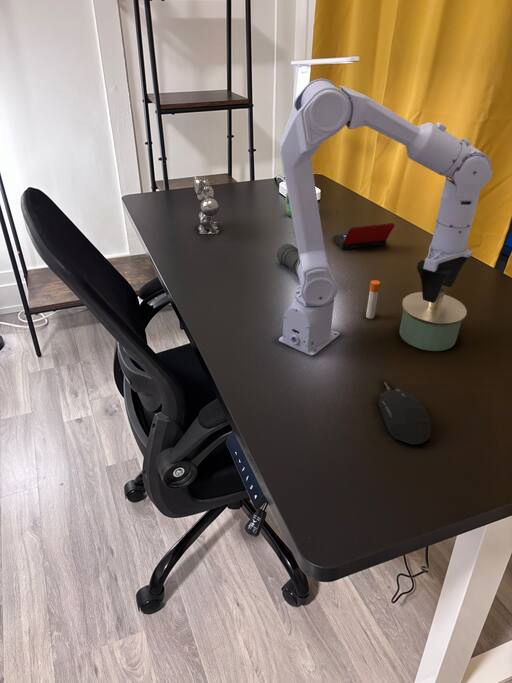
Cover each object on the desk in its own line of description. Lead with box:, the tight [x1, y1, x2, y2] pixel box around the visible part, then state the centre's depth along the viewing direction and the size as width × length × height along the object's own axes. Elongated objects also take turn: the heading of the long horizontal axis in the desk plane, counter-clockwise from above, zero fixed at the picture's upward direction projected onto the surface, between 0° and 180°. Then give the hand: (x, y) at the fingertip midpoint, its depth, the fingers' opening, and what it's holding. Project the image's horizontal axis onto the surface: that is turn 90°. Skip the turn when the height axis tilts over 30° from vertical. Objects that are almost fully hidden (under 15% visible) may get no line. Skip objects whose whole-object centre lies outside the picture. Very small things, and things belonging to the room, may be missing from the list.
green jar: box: [284, 192, 292, 218], centre depth 149 cm, size 5×5×8 cm
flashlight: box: [276, 243, 299, 277], centre depth 118 cm, size 15×5×5 cm, turn 25°
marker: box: [365, 279, 381, 320], centre depth 101 cm, size 2×2×8 cm
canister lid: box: [401, 288, 468, 325], centre depth 94 cm, size 12×12×4 cm
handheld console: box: [332, 222, 395, 250], centre depth 132 cm, size 12×11×7 cm
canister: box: [399, 309, 463, 352], centre depth 96 cm, size 11×11×6 cm
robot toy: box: [193, 175, 220, 235], centre depth 136 cm, size 15×6×15 cm, turn 12°
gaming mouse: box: [377, 381, 432, 445], centre depth 78 cm, size 6×15×4 cm, turn 6°
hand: (437, 292), depth 93 cm, fingers open, 7 cm apart
